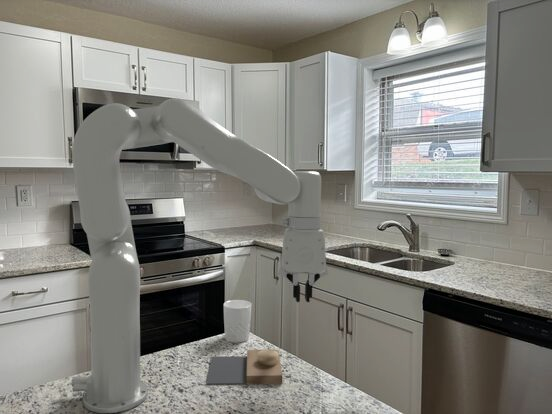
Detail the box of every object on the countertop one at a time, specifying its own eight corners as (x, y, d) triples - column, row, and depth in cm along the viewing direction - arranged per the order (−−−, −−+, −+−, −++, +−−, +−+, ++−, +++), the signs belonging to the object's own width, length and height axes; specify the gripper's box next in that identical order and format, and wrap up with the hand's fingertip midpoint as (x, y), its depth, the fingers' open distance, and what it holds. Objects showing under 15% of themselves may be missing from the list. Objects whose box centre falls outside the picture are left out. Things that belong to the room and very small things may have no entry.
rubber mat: (206, 384, 96) (206, 383, 96) (211, 357, 110) (211, 356, 110) (246, 384, 96) (246, 383, 96) (247, 357, 110) (247, 356, 110)
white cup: (217, 338, 122) (217, 304, 121) (236, 331, 128) (236, 298, 128) (238, 346, 117) (238, 310, 117) (256, 337, 124) (257, 303, 123)
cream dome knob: (257, 366, 101) (257, 358, 100) (257, 357, 106) (257, 349, 105) (278, 366, 101) (279, 358, 101) (277, 357, 106) (277, 349, 106)
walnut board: (246, 384, 96) (246, 375, 96) (247, 357, 110) (247, 349, 110) (282, 383, 97) (282, 375, 96) (278, 357, 111) (278, 349, 110)
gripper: (271, 225, 97) (270, 305, 98) (340, 226, 98) (338, 305, 99) (270, 221, 104) (268, 296, 106) (334, 222, 105) (332, 296, 107)
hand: (302, 300), depth 103 cm, fingers closed
